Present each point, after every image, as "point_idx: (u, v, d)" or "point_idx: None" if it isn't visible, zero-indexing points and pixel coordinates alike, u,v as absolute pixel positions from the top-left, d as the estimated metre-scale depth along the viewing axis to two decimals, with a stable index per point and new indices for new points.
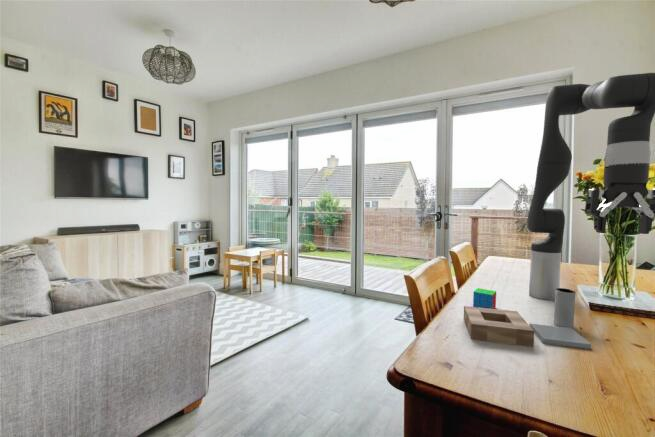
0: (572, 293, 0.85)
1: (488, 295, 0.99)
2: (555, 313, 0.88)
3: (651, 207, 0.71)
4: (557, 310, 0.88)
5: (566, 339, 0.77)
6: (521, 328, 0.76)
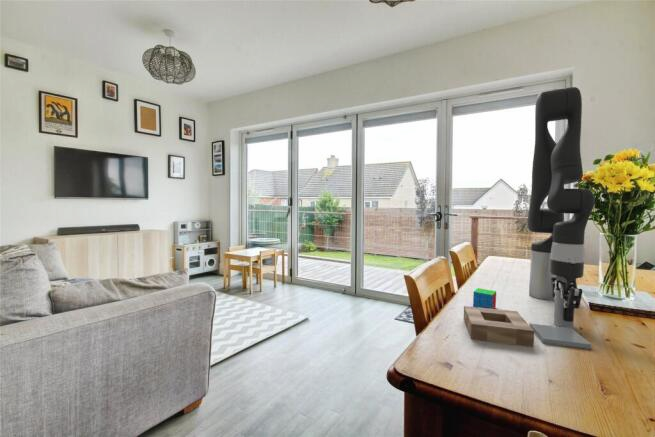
0: None
1: (488, 295, 0.99)
2: (555, 313, 0.88)
3: (554, 291, 0.92)
4: (557, 310, 0.88)
5: (566, 339, 0.77)
6: (521, 328, 0.76)
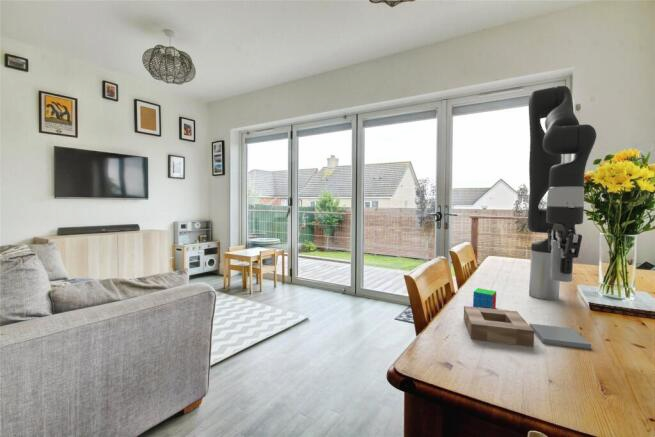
0: None
1: (488, 295, 0.99)
2: (551, 266, 0.80)
3: (551, 244, 0.84)
4: (554, 262, 0.79)
5: (566, 339, 0.77)
6: (521, 328, 0.76)
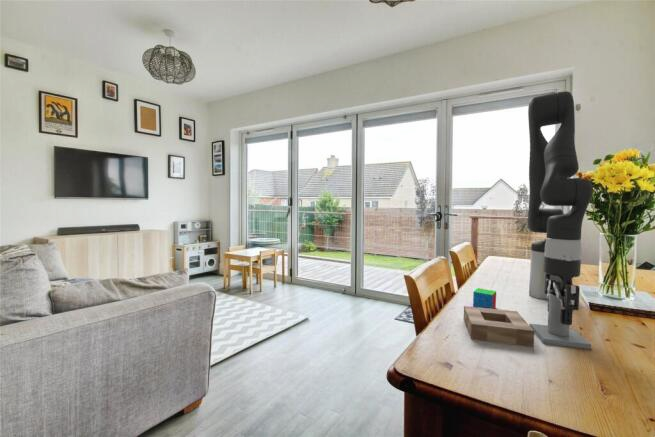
0: None
1: (488, 295, 0.99)
2: (549, 319, 0.80)
3: None
4: (551, 316, 0.80)
5: (566, 339, 0.77)
6: (521, 328, 0.76)
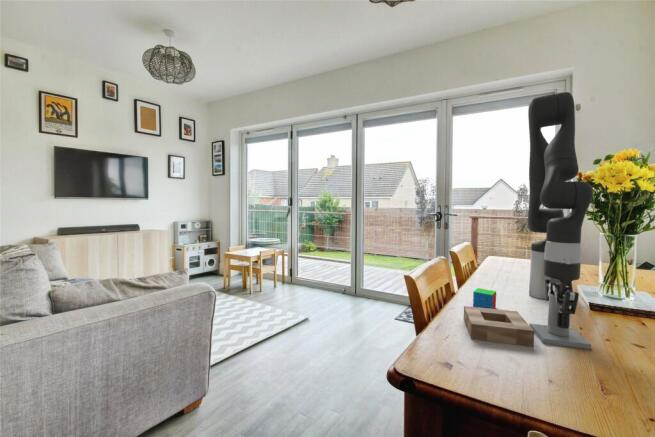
0: None
1: (488, 295, 0.99)
2: (549, 319, 0.80)
3: None
4: (551, 316, 0.79)
5: (566, 339, 0.77)
6: (521, 328, 0.76)
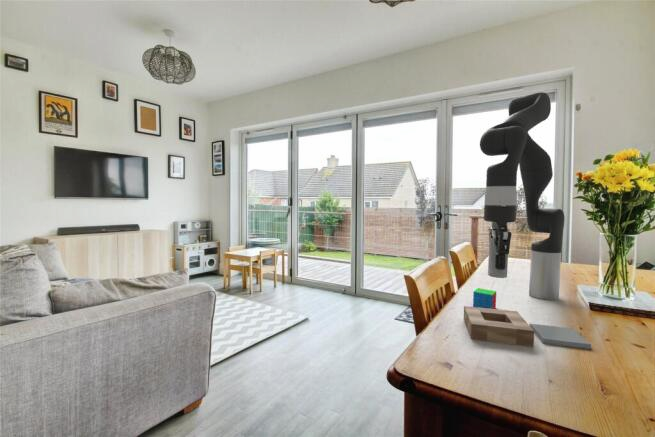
0: None
1: (488, 295, 0.99)
2: (489, 263, 0.83)
3: None
4: (490, 259, 0.82)
5: (566, 339, 0.77)
6: (521, 328, 0.76)
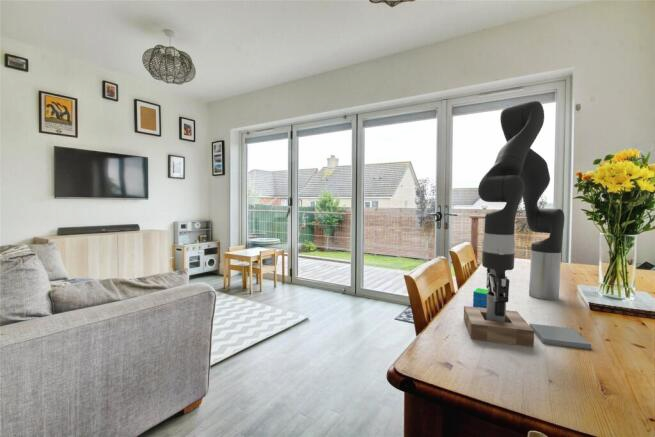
0: None
1: None
2: (486, 318, 0.84)
3: None
4: (488, 315, 0.83)
5: (566, 339, 0.77)
6: (521, 328, 0.76)
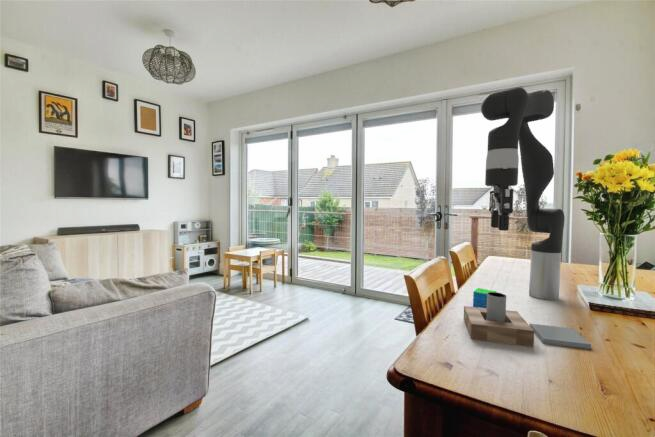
0: (502, 297, 0.81)
1: None
2: (486, 318, 0.84)
3: None
4: (488, 315, 0.83)
5: (566, 339, 0.77)
6: (521, 328, 0.76)
